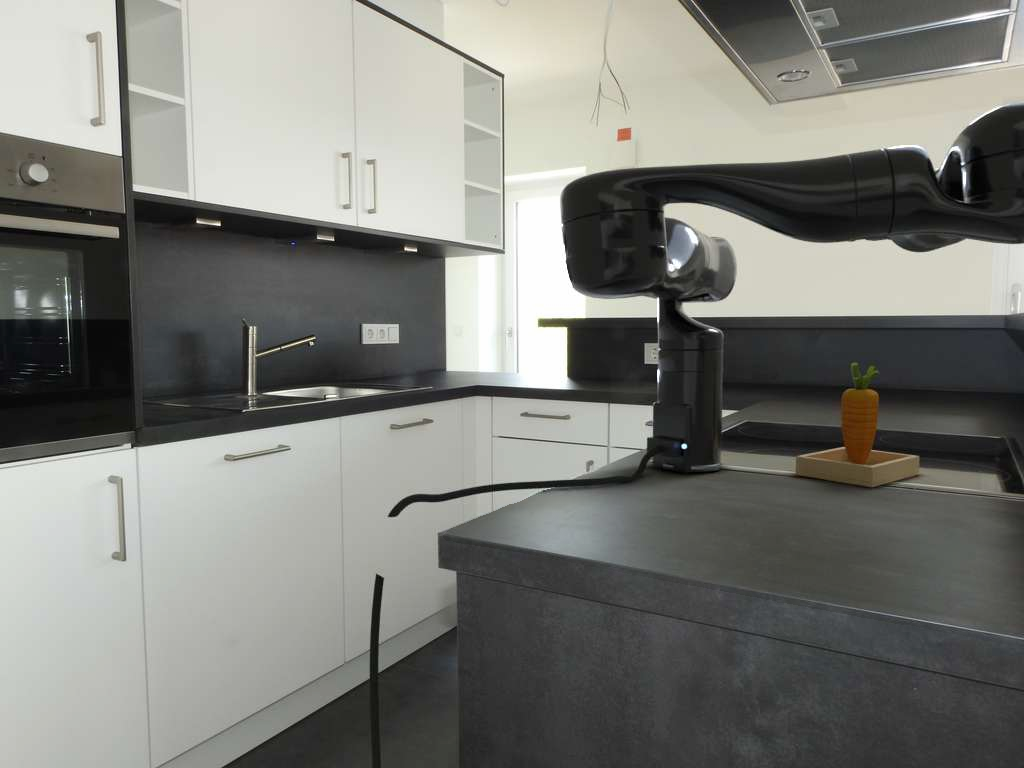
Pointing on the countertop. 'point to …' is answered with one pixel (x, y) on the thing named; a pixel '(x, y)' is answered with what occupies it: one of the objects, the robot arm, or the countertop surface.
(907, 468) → the tray
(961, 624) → the countertop surface
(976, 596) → the countertop surface
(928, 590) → the countertop surface
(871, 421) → the carrot
